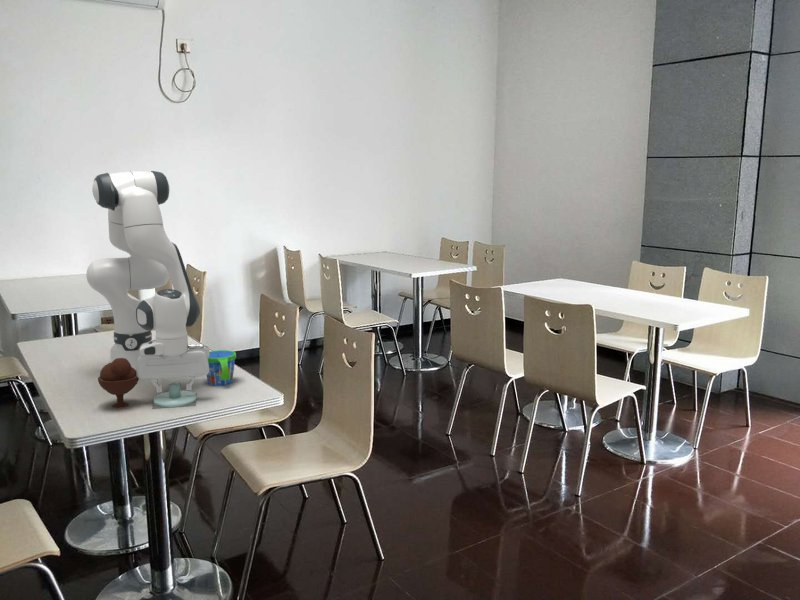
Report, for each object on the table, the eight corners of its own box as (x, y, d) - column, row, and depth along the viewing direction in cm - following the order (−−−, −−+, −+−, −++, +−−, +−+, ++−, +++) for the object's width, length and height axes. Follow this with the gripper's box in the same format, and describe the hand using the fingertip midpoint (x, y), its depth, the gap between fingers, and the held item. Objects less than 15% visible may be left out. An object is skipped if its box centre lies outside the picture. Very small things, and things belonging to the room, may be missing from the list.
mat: (155, 398, 209) (155, 395, 209) (197, 395, 212) (196, 393, 212) (152, 411, 197) (151, 408, 197) (196, 408, 200) (195, 405, 200)
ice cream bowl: (145, 401, 206) (142, 352, 203) (132, 414, 195) (129, 362, 192) (109, 401, 206) (106, 352, 203) (94, 414, 195) (90, 362, 192)
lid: (155, 395, 209) (154, 379, 208) (196, 393, 212) (196, 376, 211) (151, 408, 197) (150, 391, 196) (195, 405, 200) (195, 388, 199)
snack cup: (201, 379, 228) (199, 349, 227) (233, 376, 232) (232, 346, 230) (205, 393, 214) (204, 361, 212) (240, 389, 218) (239, 358, 216)
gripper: (209, 341, 207) (211, 385, 210) (136, 344, 202) (139, 390, 204) (209, 346, 201) (211, 392, 204) (134, 350, 196) (136, 397, 198)
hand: (174, 391), depth 204 cm, fingers open, 7 cm apart
